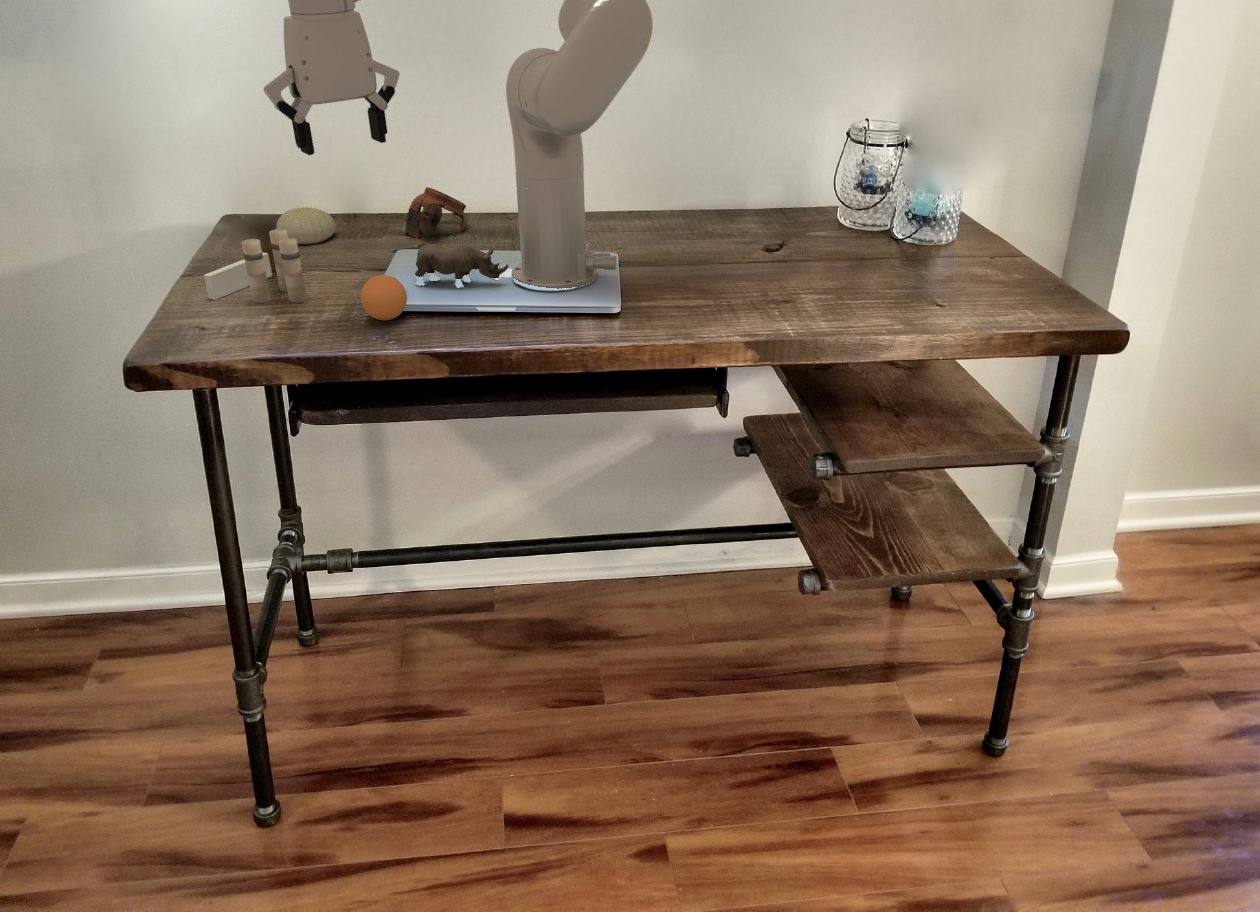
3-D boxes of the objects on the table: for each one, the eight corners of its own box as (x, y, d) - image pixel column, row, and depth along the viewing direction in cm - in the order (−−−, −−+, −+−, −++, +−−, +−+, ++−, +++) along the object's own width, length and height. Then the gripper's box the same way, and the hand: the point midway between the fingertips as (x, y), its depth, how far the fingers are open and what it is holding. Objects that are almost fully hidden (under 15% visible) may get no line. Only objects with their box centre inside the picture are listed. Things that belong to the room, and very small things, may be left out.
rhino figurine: (506, 291, 149) (503, 250, 146) (413, 288, 150) (408, 248, 147) (512, 281, 152) (509, 241, 149) (420, 278, 153) (416, 239, 150)
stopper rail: (272, 276, 155) (268, 253, 153) (214, 300, 146) (209, 276, 145) (266, 274, 155) (262, 252, 154) (208, 298, 147) (203, 275, 145)
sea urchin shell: (324, 237, 165) (285, 201, 163) (298, 269, 169) (259, 233, 167) (349, 220, 173) (312, 185, 171) (323, 251, 177) (287, 217, 175)
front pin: (309, 296, 147) (299, 238, 143) (303, 302, 145) (292, 244, 141) (292, 296, 147) (282, 237, 143) (286, 302, 145) (275, 243, 141)
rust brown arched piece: (403, 228, 177) (422, 183, 175) (455, 252, 178) (474, 207, 177) (394, 231, 165) (414, 182, 164) (450, 256, 167) (470, 209, 165)
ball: (414, 311, 142) (409, 269, 139) (401, 328, 137) (396, 284, 134) (372, 309, 142) (366, 268, 139) (357, 326, 137) (351, 283, 134)
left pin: (274, 297, 147) (262, 239, 143) (267, 303, 145) (255, 244, 141) (257, 296, 147) (245, 238, 143) (249, 303, 145) (237, 244, 141)
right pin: (300, 286, 151) (290, 229, 147) (293, 292, 149) (283, 234, 145) (283, 285, 151) (273, 228, 147) (276, 291, 149) (265, 234, 145)
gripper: (375, -6, 132) (393, 131, 140) (239, 6, 123) (267, 152, 132) (400, -2, 126) (418, 141, 135) (260, 12, 118) (288, 164, 126)
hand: (343, 146), depth 133 cm, fingers open, 9 cm apart
